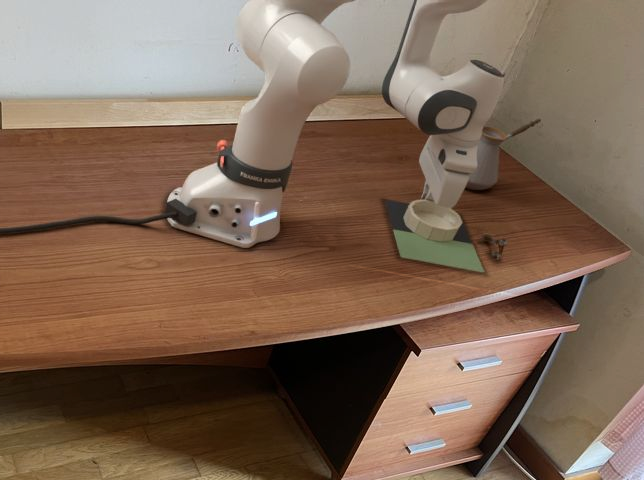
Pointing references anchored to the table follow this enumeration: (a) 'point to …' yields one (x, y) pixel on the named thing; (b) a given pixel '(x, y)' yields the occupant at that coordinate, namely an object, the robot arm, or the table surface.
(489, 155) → the coffee pot
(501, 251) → the wooden post with brackets
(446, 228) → the bowl
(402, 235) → the desk mat
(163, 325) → the table surface
